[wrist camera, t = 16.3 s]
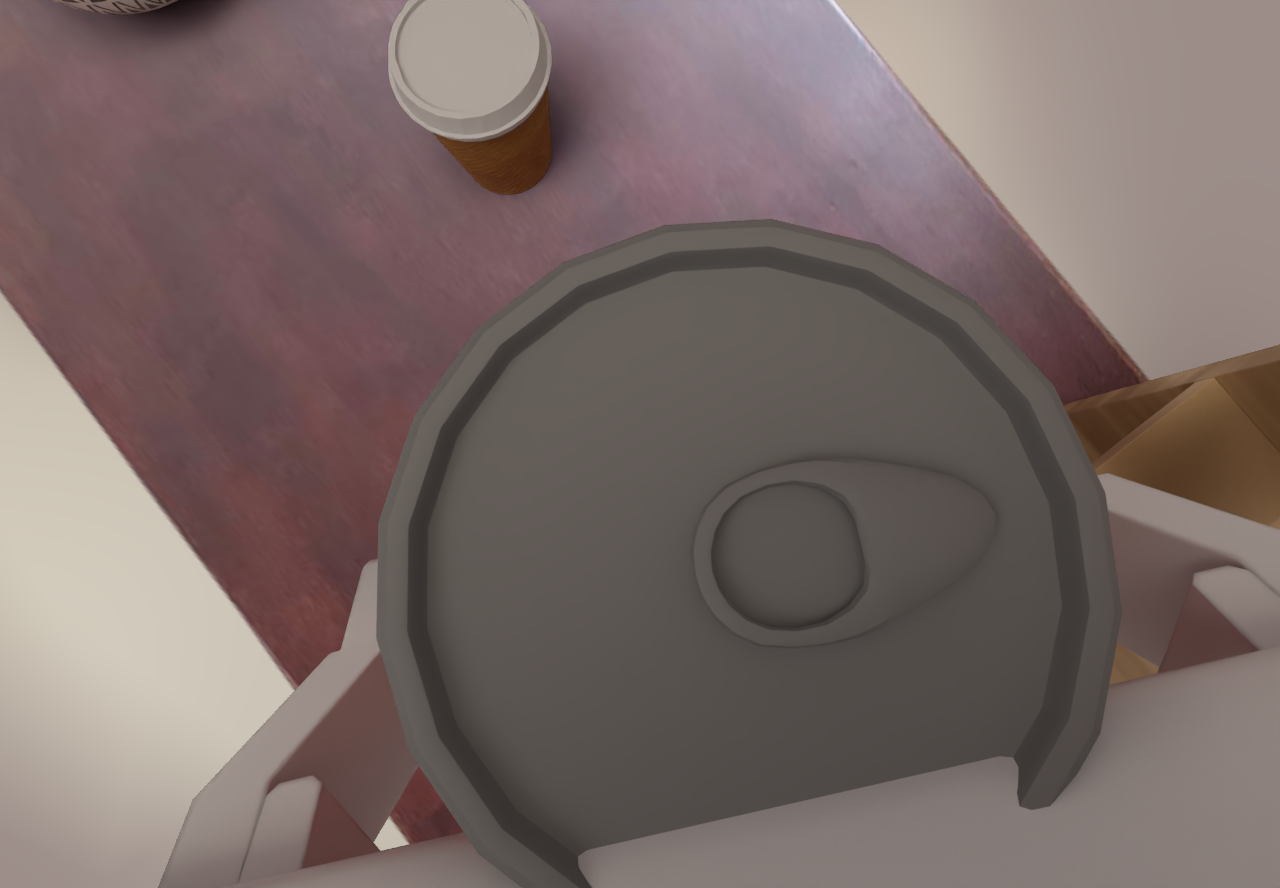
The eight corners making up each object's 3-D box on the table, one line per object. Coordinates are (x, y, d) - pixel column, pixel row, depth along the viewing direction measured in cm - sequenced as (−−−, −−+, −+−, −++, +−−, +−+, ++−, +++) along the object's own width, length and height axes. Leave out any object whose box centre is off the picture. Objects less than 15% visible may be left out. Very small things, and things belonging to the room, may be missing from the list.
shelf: (945, 672, 48) (1485, 969, 17) (860, 562, 49) (1218, 648, 17) (1154, 508, 49) (2053, 494, 17) (1066, 403, 49) (1769, 208, 18)
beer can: (865, 676, 17) (1343, 967, 5) (584, 731, 17) (360, 1153, 5) (799, 401, 18) (1052, 78, 6) (536, 454, 18) (256, 243, 6)
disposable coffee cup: (502, 242, 52) (454, 161, 40) (417, 149, 53) (345, 42, 41) (601, 156, 52) (583, 50, 40) (515, 65, 53) (473, -65, 41)
